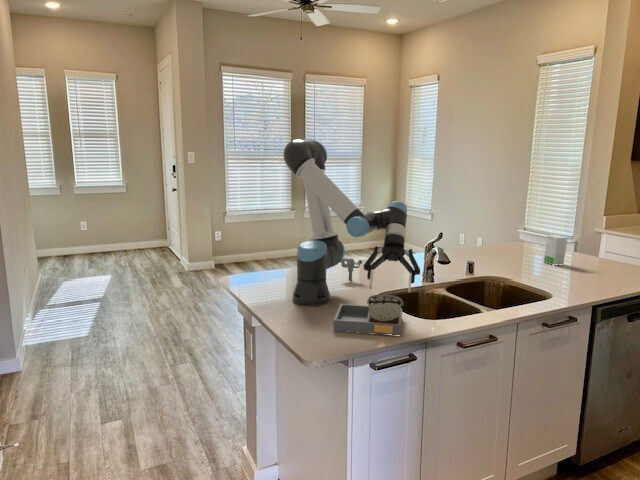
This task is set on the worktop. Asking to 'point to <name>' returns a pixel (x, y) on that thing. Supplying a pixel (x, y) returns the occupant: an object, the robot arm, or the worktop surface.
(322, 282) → the robot arm
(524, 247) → the worktop surface
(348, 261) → the mechanical component
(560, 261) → the skincare box
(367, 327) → the organizer
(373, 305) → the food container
